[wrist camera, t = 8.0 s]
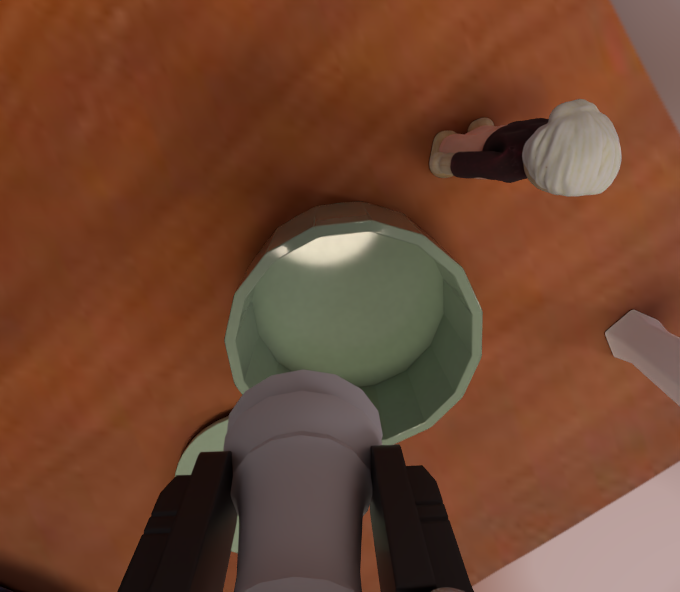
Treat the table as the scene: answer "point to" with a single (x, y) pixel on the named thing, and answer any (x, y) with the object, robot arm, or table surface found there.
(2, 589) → the decorative bowl
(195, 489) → the robot arm
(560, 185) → the grandmother figurine
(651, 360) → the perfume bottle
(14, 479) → the table surface
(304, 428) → the rook chess piece
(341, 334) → the pot
